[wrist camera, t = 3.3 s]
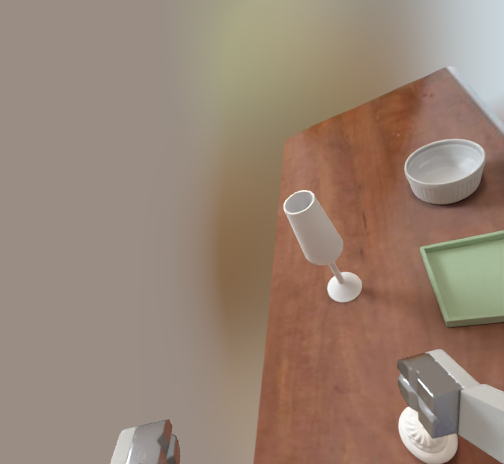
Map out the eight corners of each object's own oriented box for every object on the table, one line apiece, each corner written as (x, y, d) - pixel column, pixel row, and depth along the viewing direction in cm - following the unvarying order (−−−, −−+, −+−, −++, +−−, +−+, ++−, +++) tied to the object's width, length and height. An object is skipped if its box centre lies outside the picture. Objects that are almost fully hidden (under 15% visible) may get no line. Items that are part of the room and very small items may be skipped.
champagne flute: (366, 274, 56) (327, 184, 41) (356, 305, 53) (311, 220, 38) (333, 269, 61) (287, 186, 46) (322, 298, 58) (270, 219, 43)
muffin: (400, 407, 41) (392, 392, 37) (453, 413, 38) (450, 399, 33) (405, 461, 37) (396, 453, 33) (463, 474, 34) (462, 467, 30)
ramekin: (395, 187, 67) (390, 163, 62) (450, 156, 65) (449, 130, 60) (437, 220, 56) (433, 195, 52) (503, 184, 55) (506, 155, 50)
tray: (557, 227, 46) (560, 218, 44) (624, 311, 36) (630, 303, 35) (420, 253, 54) (419, 246, 52) (446, 327, 44) (445, 321, 43)
